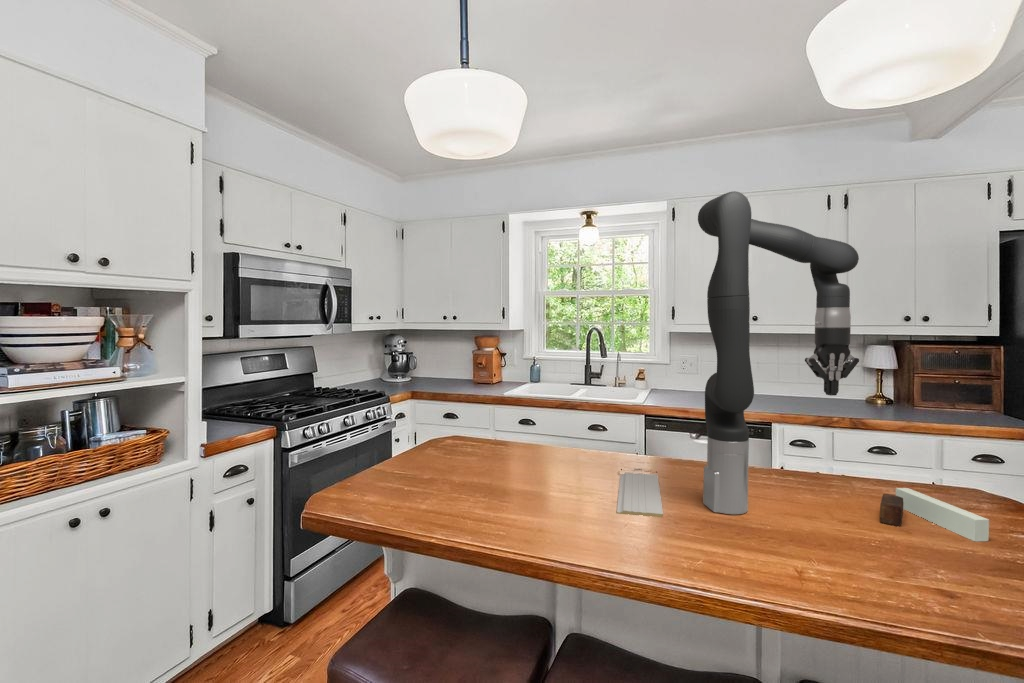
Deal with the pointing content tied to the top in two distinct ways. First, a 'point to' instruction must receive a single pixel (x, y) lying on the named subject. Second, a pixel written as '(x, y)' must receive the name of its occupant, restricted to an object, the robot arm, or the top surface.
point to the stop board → (945, 515)
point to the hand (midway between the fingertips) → (831, 395)
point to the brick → (891, 510)
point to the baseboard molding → (639, 495)
